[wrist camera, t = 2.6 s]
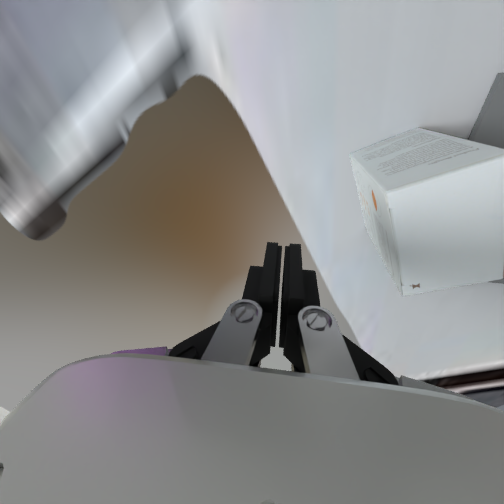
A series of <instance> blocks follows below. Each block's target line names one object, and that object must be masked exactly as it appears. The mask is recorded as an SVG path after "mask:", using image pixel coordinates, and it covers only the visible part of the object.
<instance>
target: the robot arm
mask: <svg viewBox="0 0 504 504" xmlns="http://www.w3.org/2000/svg"><path fill="white" fill-rule="evenodd" d="M281 252H282V246H278V243H272V242H271V243H270V242H268V243H267V248H266V253H265V259H264V265H263V267H259V266H250V269H249V273H248V277H247V281H246V285H245V289H244V293H243V297H242V300H238V301H235V302H234V303H232V304H230V306H229V307H228V308H227V310H226V312H225V314H224V316H223V318H222V320H221V321H219V322H217V323H216V324H214V325H212V326H210V327H208V328H206V329H205V330H203V331H201V332H199V333H197V334H195V335H194V336H192V337H190V338H188V339H186V340H184V341H183V342H181V343H179V344H178V345H176V346H175V347H174V348H173V349H167V347H157V348H146V349H135V350H124V351H117V352H113V353H111V354H107V355H99V356H94V357H90V358H85V359H82V360H79V361H75V362H73V363H70V364H68V365H65V366H63V367H61V368H60V369H58V370H56V371H55V372H53V373H52V374H50V375H49V376H48V377H47V378H46V379H44V380H43V381H42V382H41V383H40V384H38V386H36V387H35V388H34V389H33V390H32V391H31V392H30V393H29V394H28V395H27V396H26V397H25V398H24V399H23V400H22V401H21V402H20V403H19V404H18V405H17V406H16V407H15V408H14V409H13V410H12V411H11V412H10V413H9V414H8V415H7V416H6V417H5V418H4V419H3V421H2V422H1V423H0V504H504V411H502V410H499V409H497V408H495V407H492V406H489V405H486V404H483V403H480V402H477V401H474V400H473V399H471V398H469V397H466V396H464V395H462V394H458V393H455V392H452V391H449V390H446V389H443V388H440V387H436V386H433V385H430V384H427V383H424V382H421V381H418V380H414V379H411V378H408V377H405V376H402V375H401V377H400V378H398V377H395V376H394V375H393V374H392V373H391V372H390V371H389V370H388V369H387V368H386V367H384V366H383V365H382V364H380V363H379V362H378V361H377V360H375V359H374V358H373V357H371V356H370V355H369V354H367V353H366V352H365V351H363V350H362V349H361V348H359V347H358V346H357V345H356V344H354V343H353V342H351V341H350V340H349V339H348V338H346V337H345V336H344V335H342V334H341V331H340V329H339V326H338V324H337V321H336V319H335V317H334V315H333V314H332V313H331V312H330V311H328V310H327V309H325V308H323V307H320V300H319V293H318V287H317V279H316V273H315V271H313V270H302V257H301V244H290V246H285V257H284V270H283V283H282V298H281V317H280V337H279V347H281V348H284V352H283V353H284V354H283V355H284V356H285V357H286V358H287V359H288V360H289V361H290V362H291V363H292V364H291V366H292V367H291V369H292V371H284V370H277V369H268V368H261V367H260V365H261V359H262V358H264V357H265V356H267V355H268V354H270V346H273V347H275V341H276V326H277V313H278V299H279V284H280V268H281Z"/></svg>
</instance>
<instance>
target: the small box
mask: <svg viewBox="0 0 504 504" xmlns="http://www.w3.org/2000/svg"><path fill="white" fill-rule="evenodd" d="M349 156H350V160H351V164H352V169H353V173H354V178H355V182H356V187H357V191H358V196H359V200H360V205H361V209H362V213H363V218H364V222H365V228H366V230H367V232H368V234H369V236H370V238H371V240H372V242H373V243H374V245H375V247H376V249H377V251H378V253H379V255H380V257H381V259H382V261H383V263H384V264H385V266H386V268H387V270H388V272H389V273H390V275H391V277H392V279H393V281H394V283H395V285H396V287H397V289H398V291H399V293H400V295H401V296H409V295H415V294H421V293H427V292H433V291H438V290H444V289H449V288H455V287H461V286H466V285H472V284H478V283H483V282H489V281H494V280H500V279H503V278H504V149H502V148H498V147H494V146H490V145H486V144H482V143H478V142H474V141H470V140H466V139H462V138H458V137H454V136H450V135H446V134H442V133H438V132H434V131H430V130H426V129H422V128H415V129H413V130H410V131H407V132H404V133H402V134H399V135H397V136H394V137H391V138H389V139H386V140H384V141H381V142H378V143H376V144H373V145H371V146H368V147H365V148H363V149H360V150H358V151H355V152H353V153H350V155H349Z"/></svg>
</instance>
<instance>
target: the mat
mask: <svg viewBox="0 0 504 504" xmlns="http://www.w3.org/2000/svg"><path fill="white" fill-rule="evenodd" d="M468 140H470V141H474V142H478V143H482V144H486V145H490V146H494V147H498V148H502V149H504V73H498V74H497V76H496V79H495V81H494V83H493V85H492V87H491V90H490V92H489V94H488V96H487V99H486V101H485V103H484V105H483V107H482V110H481V112H480V114H479V116H478V119H477V121H476V123H475V125H474V127H473V130H472V132H471V134H470V136H469V139H468ZM489 282H492V283H504V278H503V279H500V280H494V281H489Z"/></svg>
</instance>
